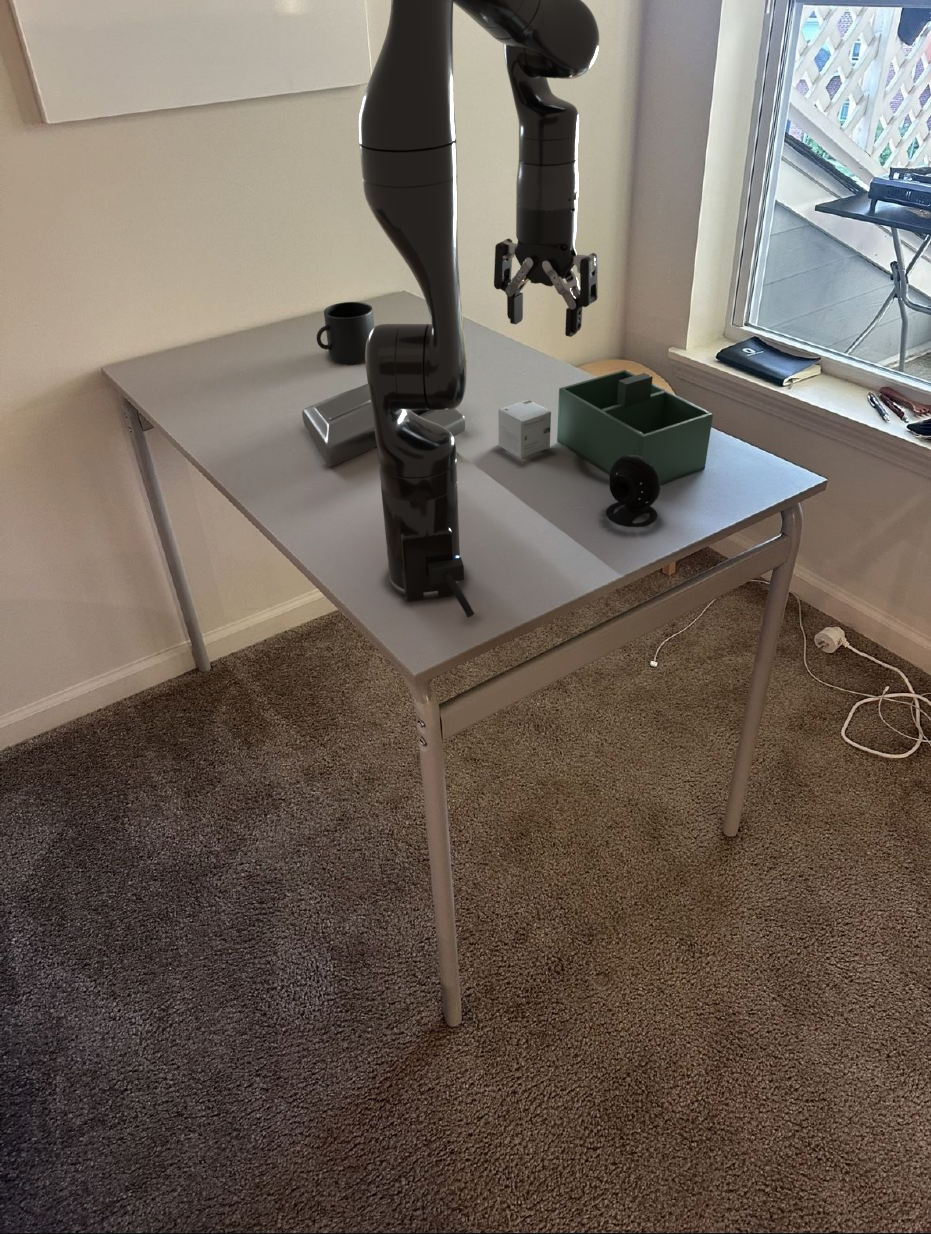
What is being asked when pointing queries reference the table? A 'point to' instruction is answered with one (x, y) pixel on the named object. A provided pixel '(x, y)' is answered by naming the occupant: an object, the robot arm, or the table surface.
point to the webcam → (633, 490)
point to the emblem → (358, 424)
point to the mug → (347, 331)
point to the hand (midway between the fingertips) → (543, 328)
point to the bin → (633, 424)
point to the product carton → (524, 428)
